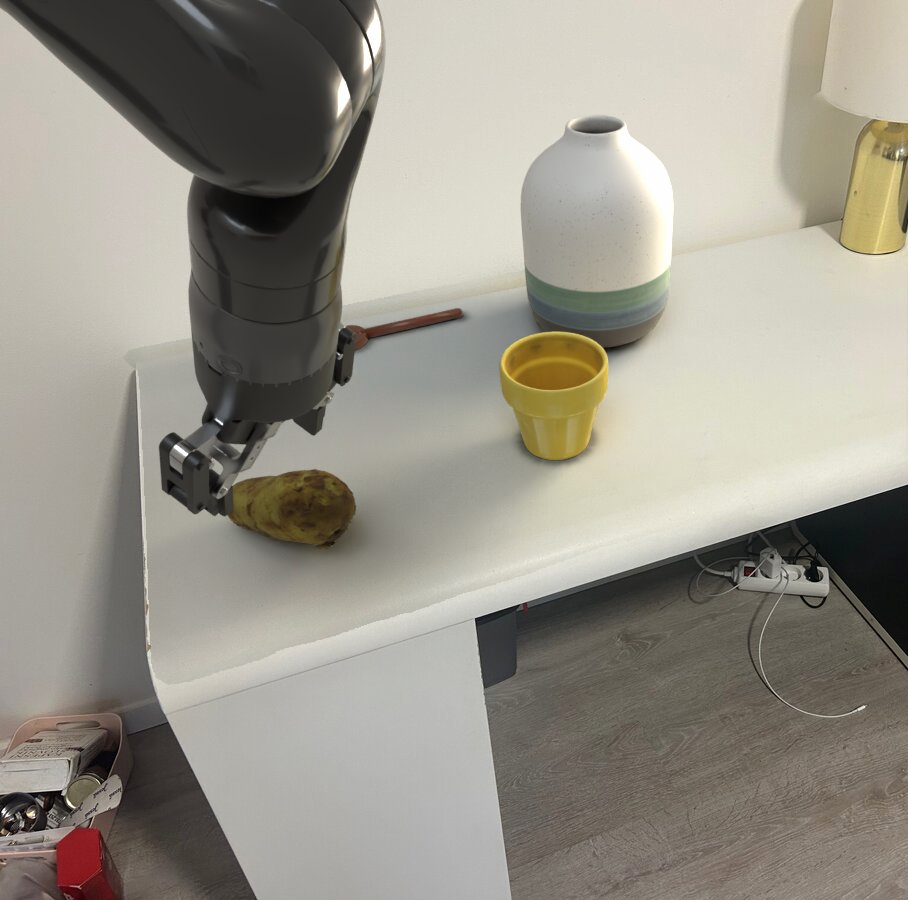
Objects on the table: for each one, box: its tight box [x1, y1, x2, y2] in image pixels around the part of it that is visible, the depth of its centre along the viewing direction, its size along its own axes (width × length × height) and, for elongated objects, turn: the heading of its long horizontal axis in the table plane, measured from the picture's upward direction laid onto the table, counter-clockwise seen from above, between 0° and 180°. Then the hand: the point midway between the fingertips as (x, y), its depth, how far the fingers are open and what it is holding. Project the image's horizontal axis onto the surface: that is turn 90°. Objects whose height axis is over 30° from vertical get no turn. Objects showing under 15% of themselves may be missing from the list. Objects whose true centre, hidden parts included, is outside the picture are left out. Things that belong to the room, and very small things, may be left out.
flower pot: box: [498, 331, 609, 461], centre depth 83 cm, size 10×10×10 cm
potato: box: [226, 468, 357, 550], centre depth 73 cm, size 8×13×8 cm, turn 46°
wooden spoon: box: [345, 307, 464, 351], centre depth 102 cm, size 16×4×1 cm, turn 114°
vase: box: [520, 114, 674, 349], centre depth 96 cm, size 17×17×24 cm
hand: (263, 464), depth 59 cm, fingers open, 8 cm apart
